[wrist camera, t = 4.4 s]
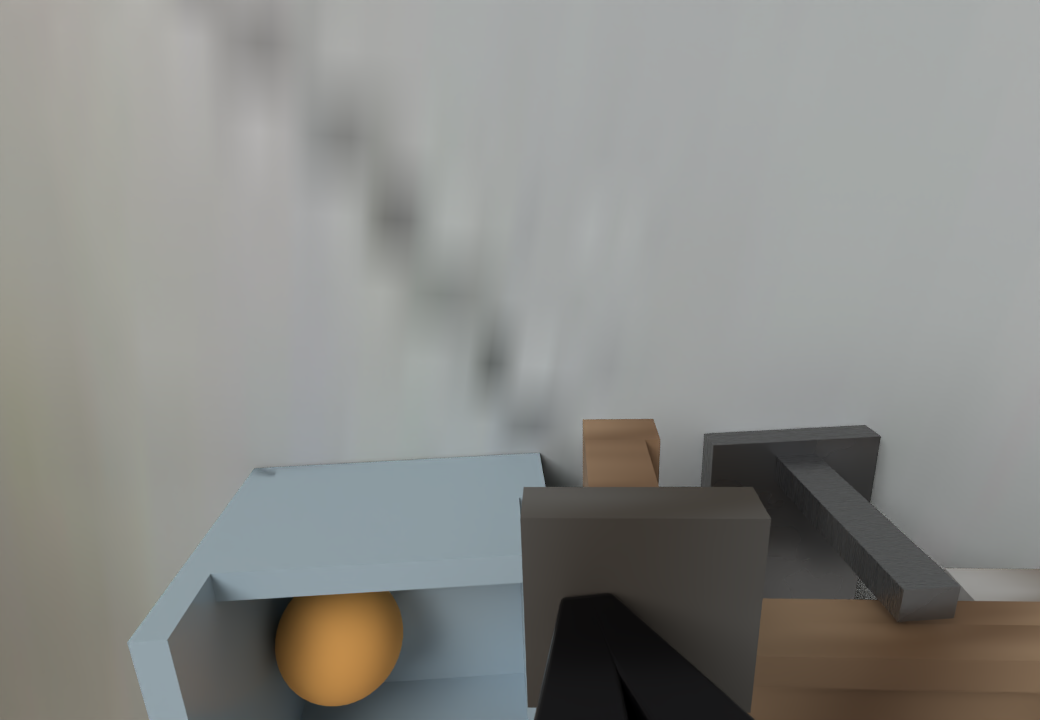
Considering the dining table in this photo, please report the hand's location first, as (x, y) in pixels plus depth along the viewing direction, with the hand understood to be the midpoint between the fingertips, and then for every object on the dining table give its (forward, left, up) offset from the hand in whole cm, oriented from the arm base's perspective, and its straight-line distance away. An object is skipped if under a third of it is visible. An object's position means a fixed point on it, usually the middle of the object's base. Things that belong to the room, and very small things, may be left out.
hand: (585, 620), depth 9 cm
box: (-4, +7, -10) cm, 13 cm away
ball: (-3, +8, -8) cm, 12 cm away
